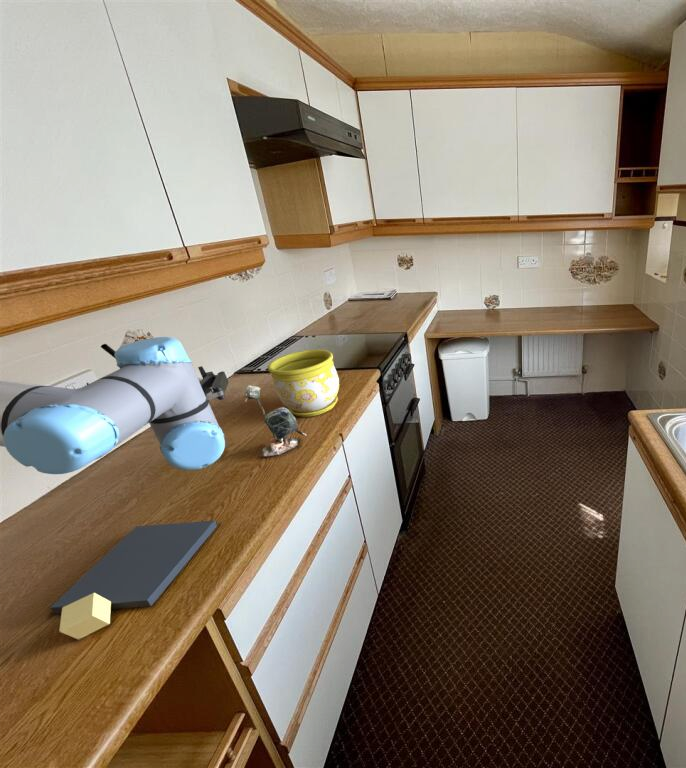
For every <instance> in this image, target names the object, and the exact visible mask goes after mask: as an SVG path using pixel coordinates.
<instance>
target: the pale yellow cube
mask: <svg viewBox="0 0 686 768" xmlns="http://www.w3.org/2000/svg"><path fill="white" fill-rule="evenodd" d="M111 610H112V609H111V602H110V601H109V600H107V599H105V598H103V597H101V596H100V595H98V594H96V593H92V594H90V595H88V596H86V597H84V598H82V599H80V600H77V601H75V602H73V603H71V604H69V605H67V606H65V607H63V608H62V613H60V614H61V615H60V621H59V630H58V632H59V633H62V634H64V635H66V636H69V637H72V638H73V639H76V640H78V641H79V640H82V638H85V637H87V636H89V635H90V634H92V633H95V632H97V631H99V630H100V629H102V628H105V627H106V626H109V625H110V624H111Z"/></svg>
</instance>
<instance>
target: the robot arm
mask: <svg viewBox="0 0 686 768" xmlns="http://www.w3.org/2000/svg"><path fill="white" fill-rule="evenodd" d="M115 351H116V352H115V358H114V359H115V361H116V367H117V368H119V369H117V370H115V371H113V372H111V373H108V374H106V375H104V376H103V377H100V378H98V379H96V380H95V381H93V382H90V383H88V384H86V385H84V386H82V387H79V388H67V387H59V386H50V385H43V384H36V383H28V382H23V381H22V382H21V381H13V380H7V379H0V447H3V448H5V449H6V451H7V452H8V454H9V455H10V456H11V458H13V459H14V460H15V461H16V462H18V463H19V464H20V465H22V466H24V467H26V468H28V467H33V468H34V469H35V470H36V472H39V473H42V474H48V475H64V474H70V473H73V472H75V471H78V470H80V469H82V468H83V467H86V466H87V465H89V464H90V463H92V462H93V461H96V460H98V459H100V458H102V457H104V456H105V455H107V454H108V453H110V452H111V451H112V450H113V449H114V448H115V447H117V446H118V445H120V444H121V443H123V442H124V441H125V440H127V439H128V438H129V437H131V436H132V435H134V434H136V433H137V432H138V431H139V430H141V429H142V428H144V427H145V426H146V425H148V424H149V425H150V427H151V429H152V431H153V433H154V434H155V437H156V439H157V441H158V442H159V445H160V446H159V450H160V453H161V454H162V456H163V458H164V459H165V461H166V462H167V463H168V465H170V466H171V467H174V468H175V469H177V470H181V471H182V470H183V471H197V470H201V469H204V468H207V467H209V466H211V465H212V464H214V463H215V462H216V461H218V459H220V457H221V456H222V455H223V453H224V451H225V447H226V440H225V433H223V430H222V428H221V427H220V425H219V423H218V420H217V418H216V416H215V413H214V412H213V409H212V406H211V404H210V405H209V403H210V400H213V399H214V400H218V401H222V400H225V399H226V398H227V396H226V395H225V393H226V390H227V388H228V385H229V380H228V377H227V374H226V372H225V371H219V372H217V374H215V373H214V372H213V371H207V372H206V371H205V369H204V367H203V366H202V365H201V366H198V367H197V369H198V371H199V373H200V376H201V379H202V380H201V381H200V382H199V380H198V378H199V377H198V376H197V373H196V370H195V368H194V366H193V361H192V360H191V359H190V358H189V355H188V353H187V352H186V349H185V348H184V346H183V344H182V342H181V341H180V340H179V339H178V338H174V337H171V336H159V337H158V336H157V337H150V338H144V339H139V340H136V341H133V342H129V343H126V344H124V345H122V346H120V347H119V348H118V349H116V350H115ZM208 402H209V403H208ZM210 406H211V407H210Z"/></svg>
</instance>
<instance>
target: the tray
mask: <svg viewBox="0 0 686 768" xmlns="http://www.w3.org/2000/svg"><path fill="white" fill-rule="evenodd" d="M217 527H218V523H217V522H216V520H214V519H213V520H202V521H201V520H200V521H187V522H177V523H163V524H150V525H149V524H148V525H136V526H135V527H134V528H133V529H131V531H130V532H128V533H127V534H126V535H125V536H124V537H123V538H121V540H120V541H119V542H118V543H117V544H115V546H114V547H113V548H111V549H110V550H109V551H108V552H107V553H106V554H105V555H104V556H103V557H102V558H101V559H100V560H99V561H97V562H96V563H95V564H94V566H92V567H90V569H89V570H88V571H86V573H84V575H82V576H81V577H80V578H79V579H78V580H77V581H76V582H75V583H73V585H72V586H71V587H70V588H69V589H67V590H66V591H65V592H64V593H63V594H62V595H61V596H60V597H59V598H58V599H57V600H55V602H53V603H52V605H50V606H49V610H50V611H51V612H52V613H53V614H54V615H55V614H61V613H62V608H63V607H65V606H67V605H69V604H71V603H73V602H75V601H77V600H80V599H82V598H84V597H86V596H88V595H90V594H92V593H96V594H98V595H100V596H101V597H103V598H105V599H107V600H109V601H110V602H111V610H119V609H120V610H121V609H132V608H144V607H152V606H153V605H154V604H155V602H157V600H158V599H159V597H160V596H161V595H162V594H163V593H164V591H166V589H167V588H168V587H169V585H170V584H171V583H172V581H174V579H175V578H176V577H177V575H179V574H180V572H181V571H182V569H183V568H184V567H186V565H187V563H188V562H189V561H190V560H191V559H192V558H193V556H194V555H195V554H196V553H197V551H198V550H199V549H200V548H201V547H202V545H204V543H205V542H206V540H207V539H208V538H209V537H210V536H211V534H212V533H213V532H214V531H215V529H217Z"/></svg>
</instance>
